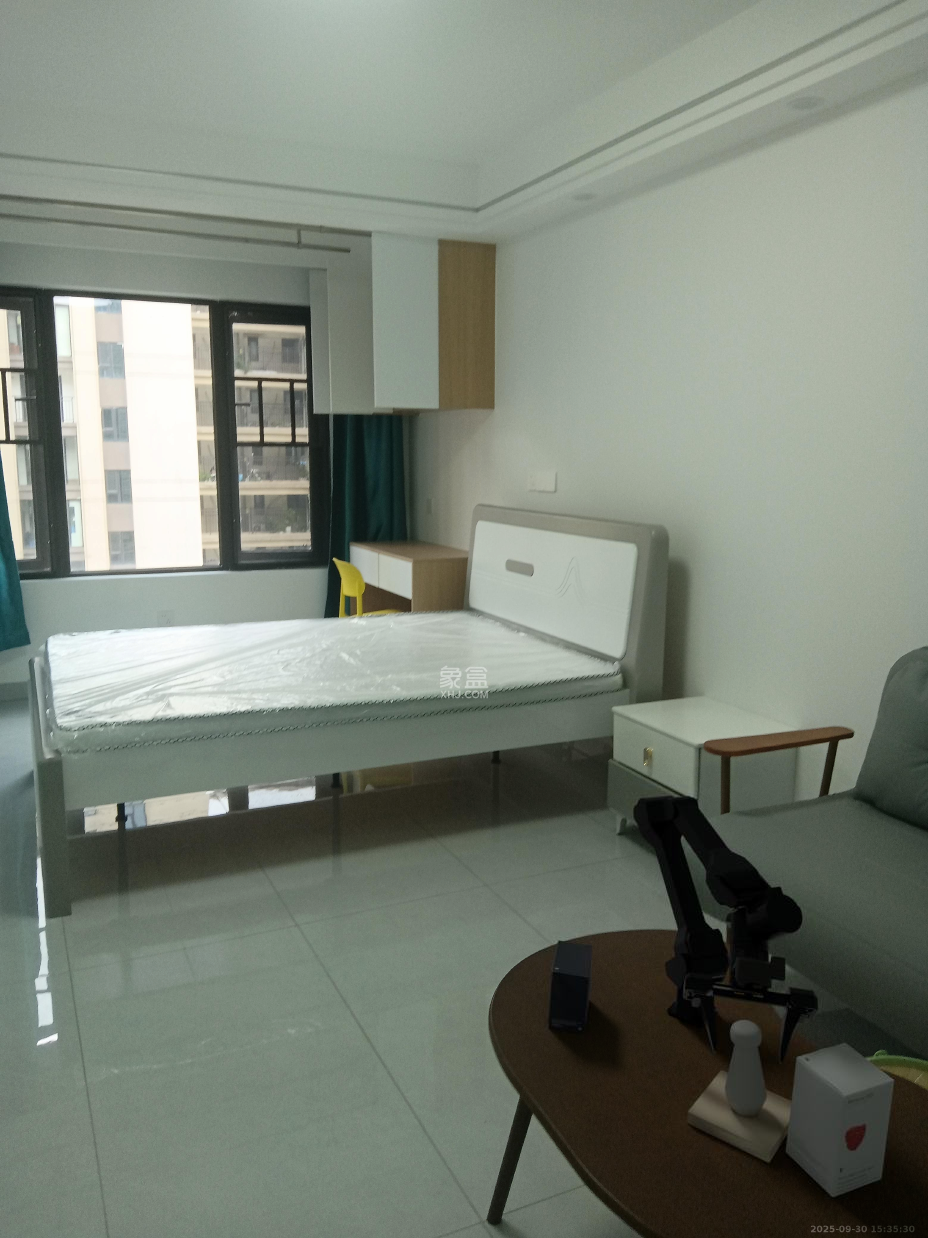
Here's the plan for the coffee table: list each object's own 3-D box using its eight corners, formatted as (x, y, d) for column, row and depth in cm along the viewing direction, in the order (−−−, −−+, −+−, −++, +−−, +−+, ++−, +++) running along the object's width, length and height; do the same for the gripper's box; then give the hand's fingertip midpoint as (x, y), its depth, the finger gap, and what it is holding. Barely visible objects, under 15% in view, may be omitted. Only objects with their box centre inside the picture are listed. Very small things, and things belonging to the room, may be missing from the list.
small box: (586, 1035, 155) (589, 976, 153) (546, 1029, 156) (549, 971, 154) (590, 999, 165) (594, 944, 163) (553, 993, 166) (556, 939, 165)
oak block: (719, 1084, 145) (721, 1070, 144) (798, 1120, 138) (799, 1105, 137) (686, 1127, 135) (687, 1111, 135) (768, 1167, 128) (770, 1151, 128)
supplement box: (832, 1200, 122) (844, 1097, 119) (783, 1153, 130) (793, 1055, 127) (884, 1180, 126) (896, 1080, 123) (833, 1135, 134) (844, 1040, 131)
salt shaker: (773, 1106, 136) (775, 1025, 133) (753, 1127, 132) (754, 1045, 130) (737, 1088, 140) (738, 1009, 138) (716, 1107, 136) (717, 1027, 134)
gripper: (689, 922, 139) (684, 1034, 131) (823, 941, 135) (826, 1058, 127) (685, 944, 148) (680, 1050, 140) (810, 962, 144) (812, 1073, 136)
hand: (747, 1057), depth 135 cm, fingers open, 9 cm apart
